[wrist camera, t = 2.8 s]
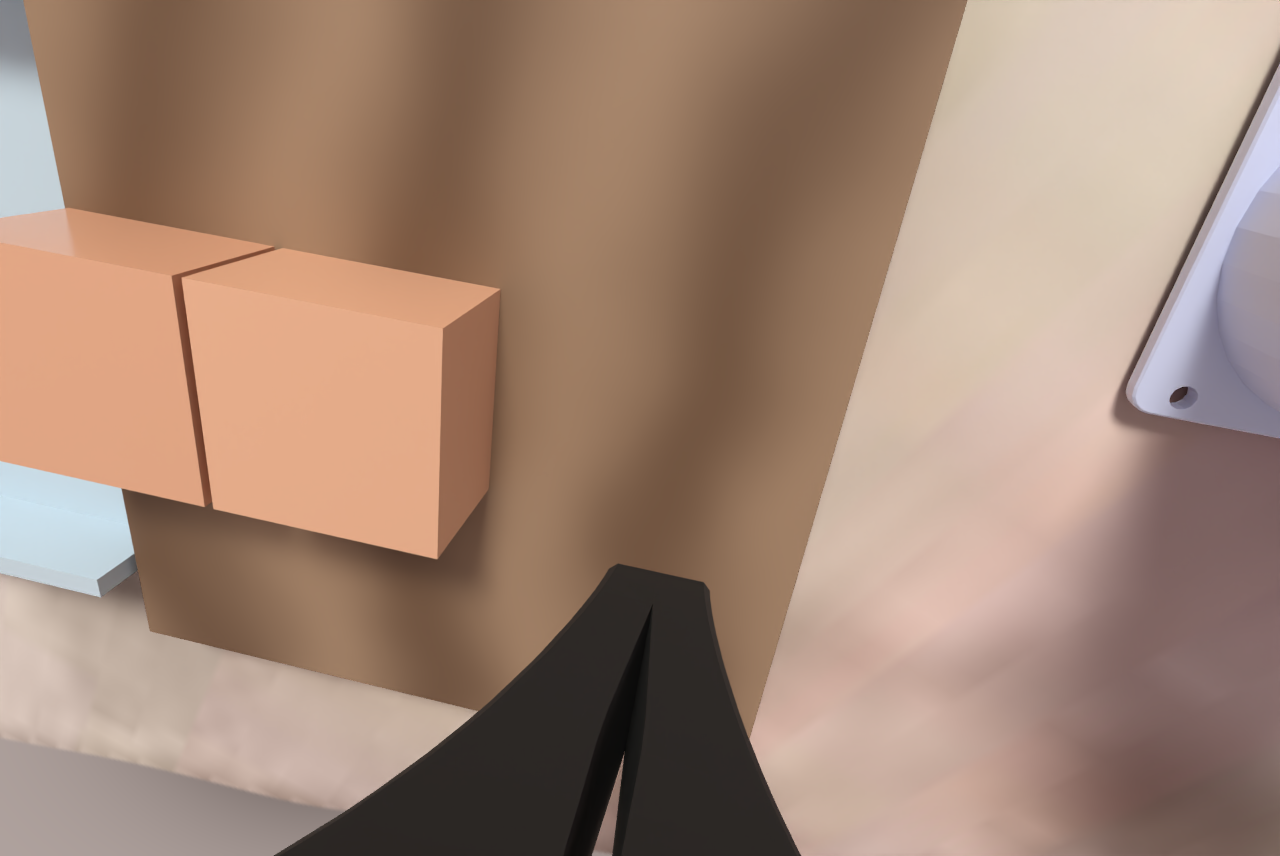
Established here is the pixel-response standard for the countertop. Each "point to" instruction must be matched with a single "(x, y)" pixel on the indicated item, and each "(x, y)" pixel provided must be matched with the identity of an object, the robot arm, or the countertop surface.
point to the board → (528, 283)
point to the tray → (21, 496)
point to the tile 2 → (345, 395)
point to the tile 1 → (104, 349)
